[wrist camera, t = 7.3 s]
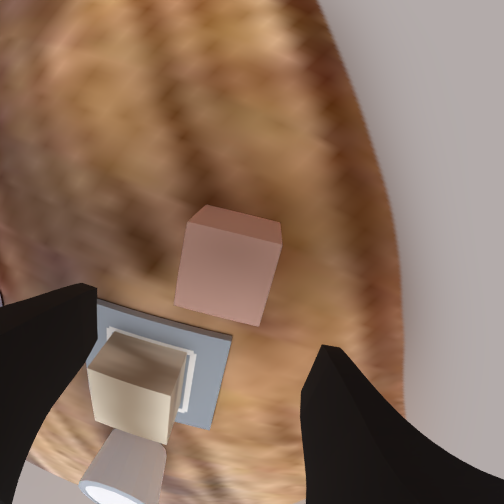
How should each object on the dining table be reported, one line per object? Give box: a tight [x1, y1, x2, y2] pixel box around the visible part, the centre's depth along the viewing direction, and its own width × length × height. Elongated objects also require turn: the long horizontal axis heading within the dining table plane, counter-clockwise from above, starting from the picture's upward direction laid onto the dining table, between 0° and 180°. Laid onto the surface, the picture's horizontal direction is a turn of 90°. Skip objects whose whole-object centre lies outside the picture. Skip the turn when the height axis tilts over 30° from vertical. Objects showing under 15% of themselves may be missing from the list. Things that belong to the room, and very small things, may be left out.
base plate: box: [86, 299, 232, 430], centre depth 20 cm, size 10×9×1 cm
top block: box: [174, 205, 283, 327], centre depth 15 cm, size 4×4×4 cm
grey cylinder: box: [78, 429, 167, 504], centre depth 21 cm, size 7×7×7 cm
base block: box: [87, 331, 187, 445], centre depth 18 cm, size 5×5×4 cm
